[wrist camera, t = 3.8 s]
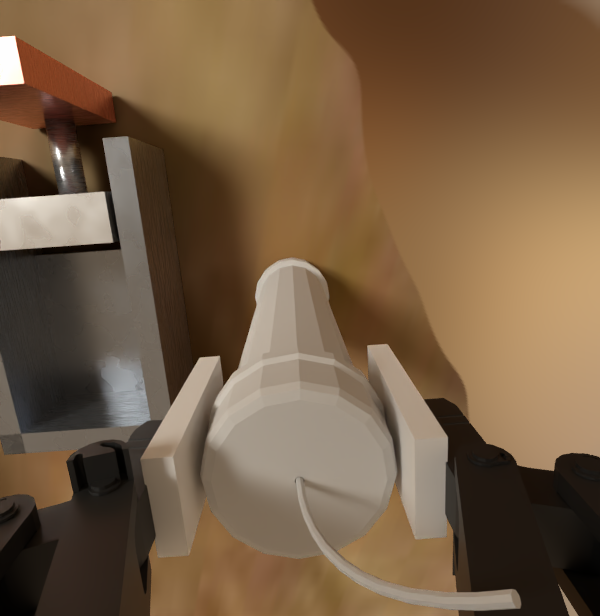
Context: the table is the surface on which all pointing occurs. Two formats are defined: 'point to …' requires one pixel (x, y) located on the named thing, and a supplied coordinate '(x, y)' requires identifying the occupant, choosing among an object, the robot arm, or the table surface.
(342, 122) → the table surface
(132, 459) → the robot arm
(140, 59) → the table surface
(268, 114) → the table surface
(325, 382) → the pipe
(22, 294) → the grey open box
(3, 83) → the jaw
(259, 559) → the table surface
